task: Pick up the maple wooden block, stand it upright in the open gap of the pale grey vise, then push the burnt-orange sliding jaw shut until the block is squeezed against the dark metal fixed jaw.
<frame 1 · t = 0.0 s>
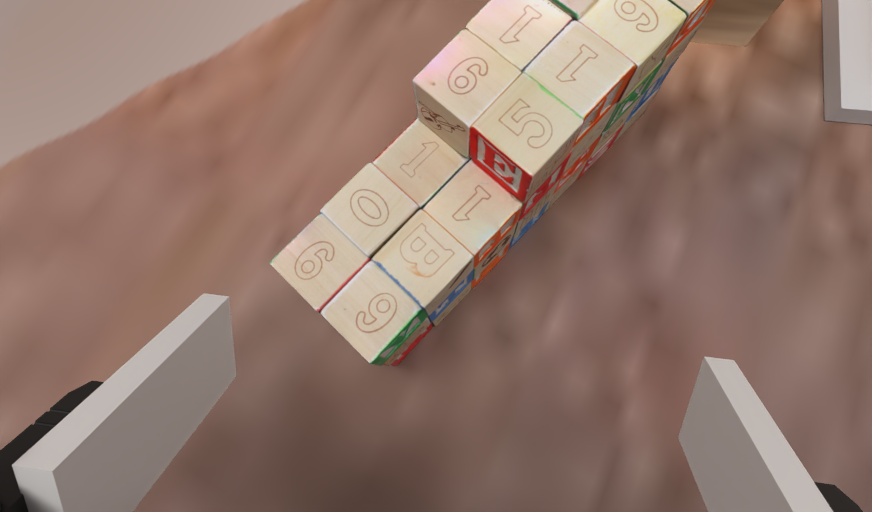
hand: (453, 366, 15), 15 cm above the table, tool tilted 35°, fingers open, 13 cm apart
stack of blocks: (486, 201, 33), on the table
maple block: (687, 6, 34), on the table
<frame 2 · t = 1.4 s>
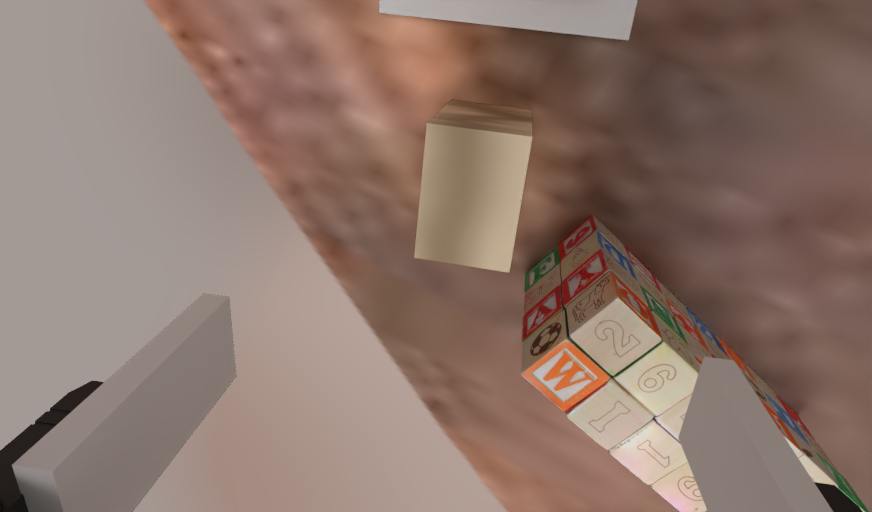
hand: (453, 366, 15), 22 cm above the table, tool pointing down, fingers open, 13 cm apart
stack of blocks: (662, 342, 39), on the table
maple block: (483, 160, 35), on the table
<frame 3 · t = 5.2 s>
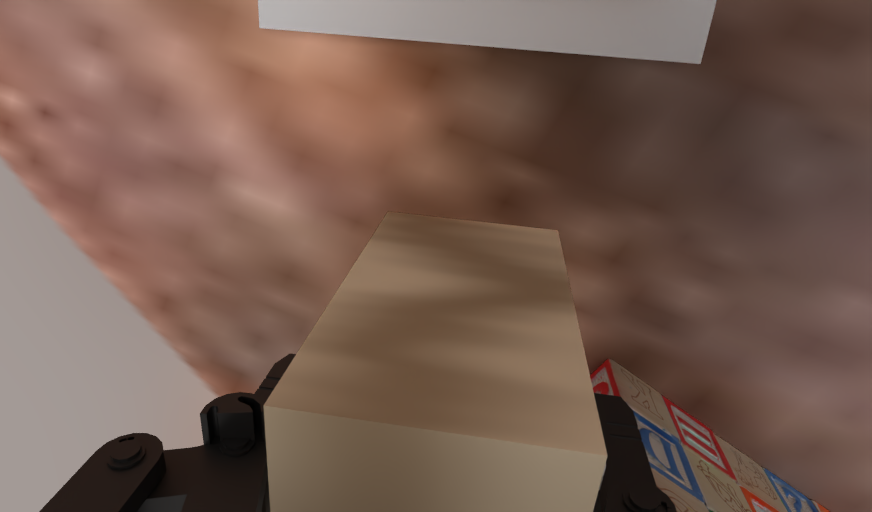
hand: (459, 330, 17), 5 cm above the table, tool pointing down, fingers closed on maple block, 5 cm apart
maple block: (460, 323, 18), point 5 cm above the table, touching gripper
when the fingers open (2 cm above the table, at t = 10.7 s): maple block stays where it is, resting on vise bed.
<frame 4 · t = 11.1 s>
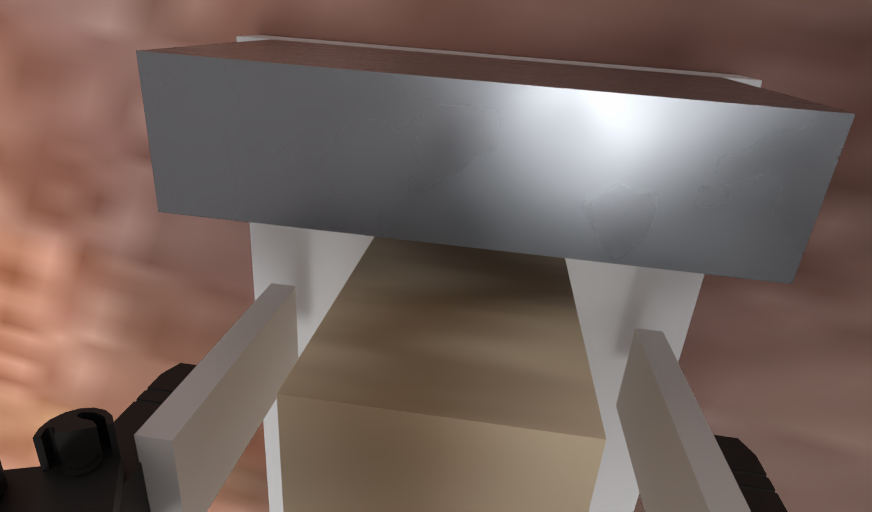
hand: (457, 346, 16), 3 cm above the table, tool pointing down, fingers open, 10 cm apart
maple block: (463, 319, 18), point 1 cm above the table, touching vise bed
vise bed: (448, 450, 22), on the table
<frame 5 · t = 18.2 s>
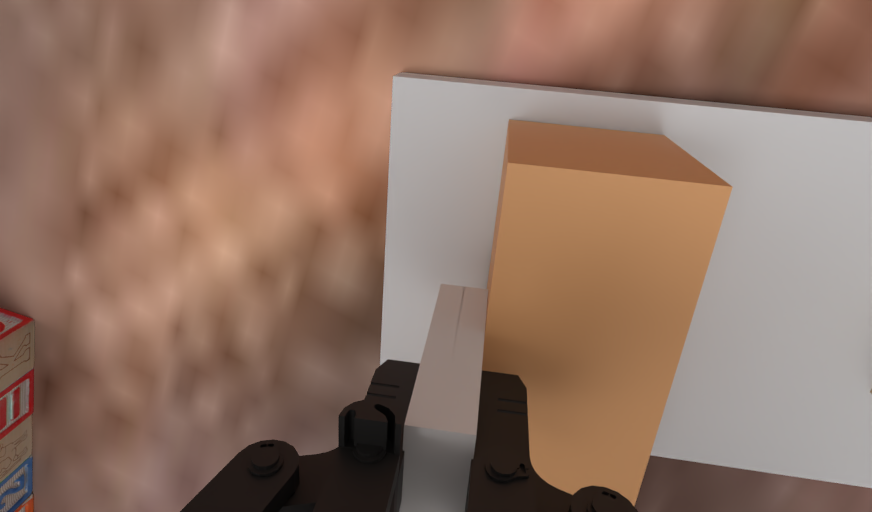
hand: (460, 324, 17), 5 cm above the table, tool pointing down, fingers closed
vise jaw: (561, 332, 18), point 5 cm above the table, slide at 1.4 cm, touching gripper
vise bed: (777, 300, 21), on the table
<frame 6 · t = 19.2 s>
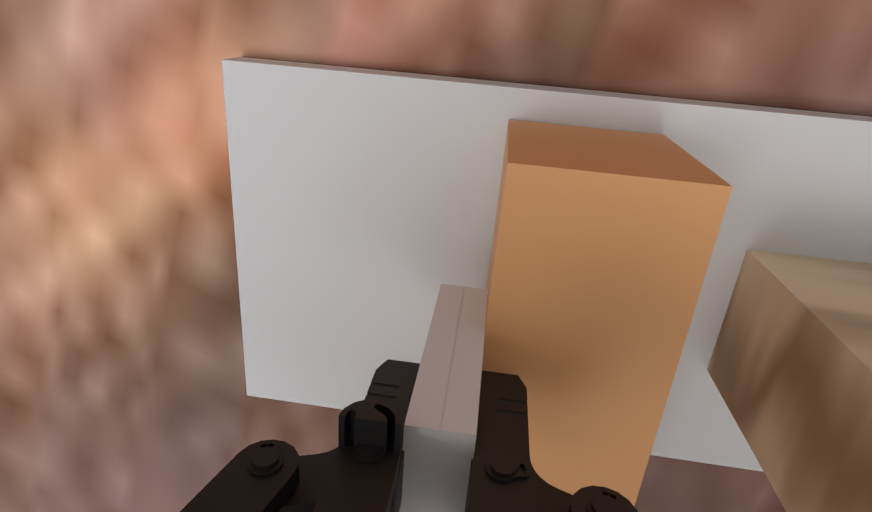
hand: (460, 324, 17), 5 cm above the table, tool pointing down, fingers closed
maple block: (827, 325, 20), point 1 cm above the table, touching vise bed
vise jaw: (561, 332, 18), point 5 cm above the table, slide at 7.3 cm, touching gripper
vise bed: (621, 281, 21), on the table
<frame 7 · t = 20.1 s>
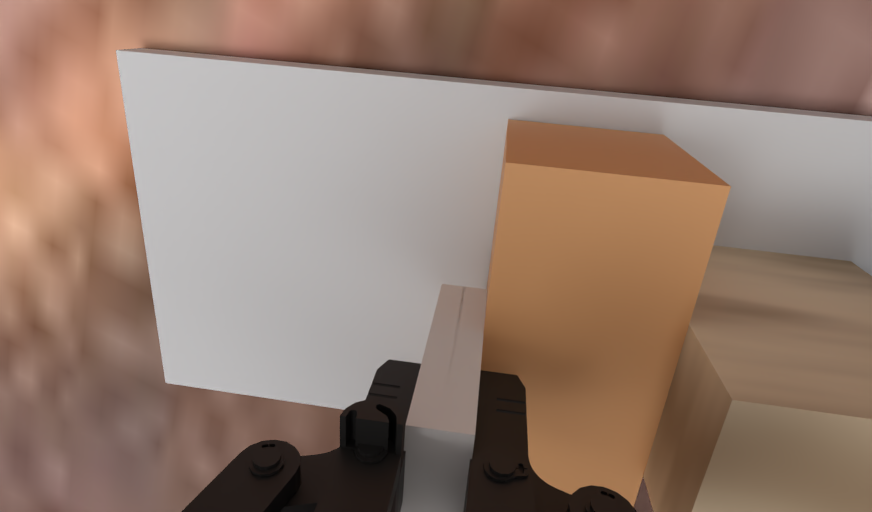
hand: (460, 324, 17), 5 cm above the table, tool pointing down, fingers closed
maple block: (722, 312, 20), point 2 cm above the table, touching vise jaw
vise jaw: (561, 332, 18), point 5 cm above the table, slide at 11.1 cm, touching gripper, maple block
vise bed: (523, 269, 22), on the table
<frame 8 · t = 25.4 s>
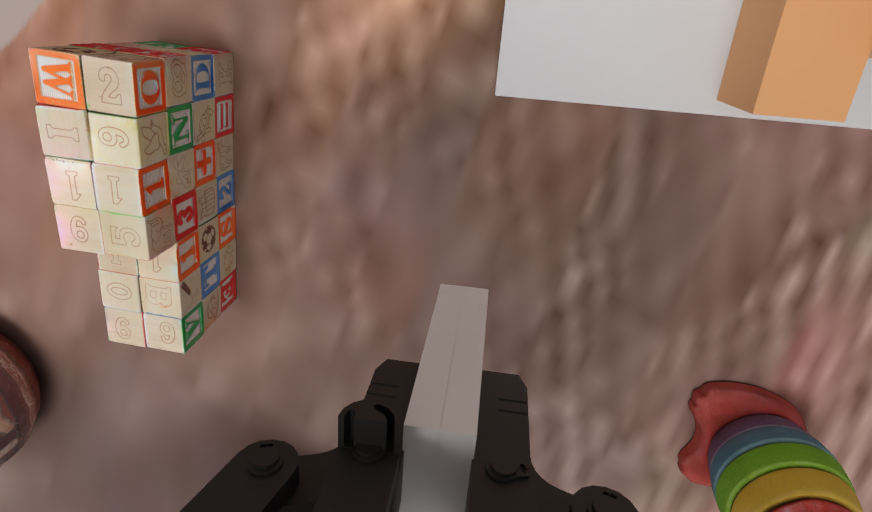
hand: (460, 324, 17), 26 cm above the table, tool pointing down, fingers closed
stack of blocks: (202, 179, 46), on the table
stacking bear: (741, 430, 49), on the table
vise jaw: (808, 3, 31), point 5 cm above the table, slide at 12.3 cm, touching maple block
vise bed: (737, 2, 36), on the table
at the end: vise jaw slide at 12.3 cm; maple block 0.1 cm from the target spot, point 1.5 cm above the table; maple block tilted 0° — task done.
